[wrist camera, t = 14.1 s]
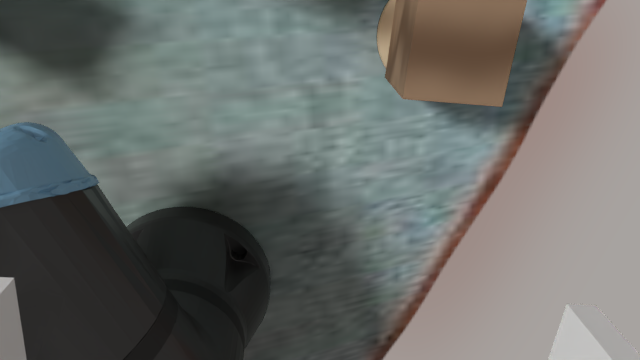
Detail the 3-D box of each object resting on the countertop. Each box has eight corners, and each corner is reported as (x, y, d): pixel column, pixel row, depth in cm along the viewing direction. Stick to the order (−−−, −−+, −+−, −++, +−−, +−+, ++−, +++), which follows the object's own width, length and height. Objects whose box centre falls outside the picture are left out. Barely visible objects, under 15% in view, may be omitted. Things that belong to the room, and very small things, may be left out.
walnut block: (469, 84, 42) (502, 106, 36) (385, 77, 42) (402, 98, 35) (488, -7, 40) (527, 0, 33) (398, -16, 39) (419, -11, 33)
